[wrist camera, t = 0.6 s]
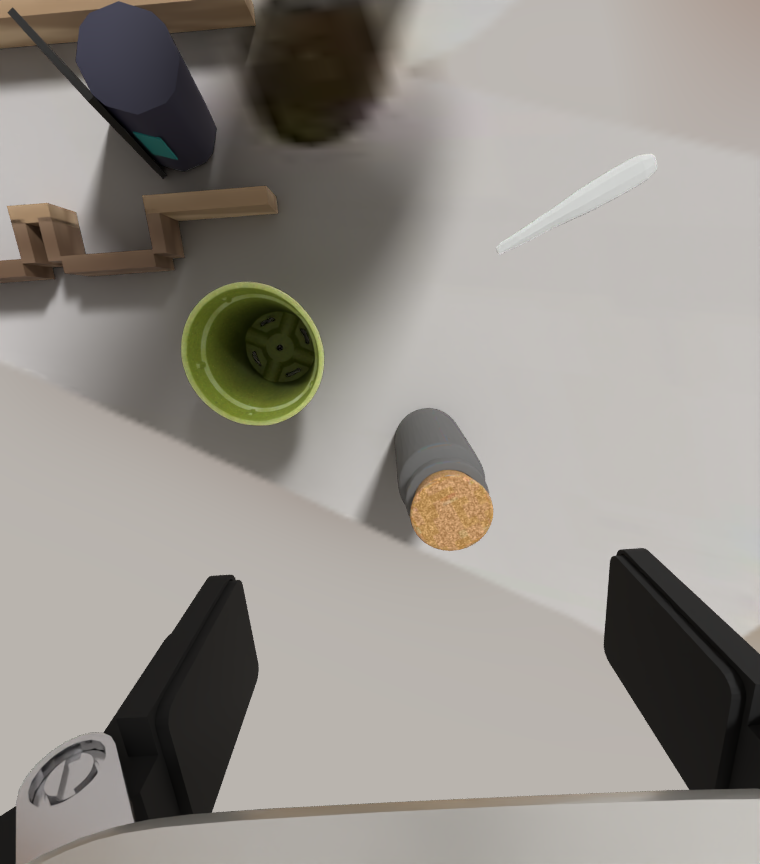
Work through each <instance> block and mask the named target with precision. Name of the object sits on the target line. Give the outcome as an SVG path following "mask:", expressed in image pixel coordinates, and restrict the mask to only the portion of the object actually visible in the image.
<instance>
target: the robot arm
mask: <svg viewBox="0 0 760 864" xmlns="http://www.w3.org/2000/svg"><path fill="white" fill-rule="evenodd" d="M604 650H605V654H606V656H607V659H608V661H609V663H610V664H611V666H612V668H613V669H614V671H615V672H616V674H617V675H618V677H619V679H620V680H621V682H622V683H623V685H624V687H625V688H626V690H627V691H628V693H629V695H630V696H631V698H632V699H633V701H634V702H635V704H636V706H637V707H638V709H639V710H640V712H641V713H642V715H643V717H644V718H645V720H646V721H647V723H648V725H649V726H650V728H651V729H652V731H653V733H654V734H655V736H656V737H657V739H658V741H659V742H660V743H661V745H662V747H663V749H664V750H665V752H666V753H667V755H668V756H669V758H670V760H671V761H672V763H673V764H674V766H675V768H676V769H677V771H678V772H679V774H680V776H681V777H682V779H683V780H684V782H685V783H686V785H687V787H688V788H689V790H667V791H642V792H641V791H640V792H616V793H590V794H566V795H541V796H517V797H496V798H473V799H453V800H452V799H451V800H430V801H408V802H387V803H368V804H350V805H331V806H314V807H313V806H311V807H293V808H273V809H257V810H244V811H231V812H216V813H212V810H213V807H214V804H215V801H216V798H217V796H218V793H219V790H220V787H221V784H222V781H223V778H224V775H225V772H226V769H227V766H228V763H229V760H230V758H231V755H232V752H233V749H234V746H235V743H236V740H237V737H238V734H239V731H240V729H241V726H242V723H243V720H244V717H245V714H246V711H247V708H248V705H249V702H250V699H251V696H252V693H253V691H254V688H255V685H256V682H257V678H258V660H257V655H256V650H255V645H254V640H253V635H252V630H251V625H250V620H249V615H248V610H247V604H246V599H245V594H244V589H243V585H242V582H241V581H240V580H235V577H234V576H233V575H219V576H210V577H209V578H208V579H207V580H206V582H205V583H204V585H203V586H202V588H201V589H200V591H199V592H198V594H197V595H196V597H195V598H194V600H193V601H192V603H191V604H190V606H189V607H188V609H187V610H186V612H185V614H184V615H183V617H182V618H181V620H180V621H179V623H178V624H177V626H176V627H175V629H174V630H173V632H172V633H171V634H170V635H169V636H168V637H167V638H166V639H165V640H164V642H163V643H162V645H161V646H160V648H159V650H158V651H157V652H156V654H155V656H154V657H153V659H152V660H151V662H150V663H149V665H148V666H147V668H146V669H145V671H144V672H143V674H142V675H141V677H140V678H139V680H138V681H137V683H136V684H135V686H134V688H133V689H132V690H131V692H130V693H129V695H128V696H127V698H126V700H125V701H124V702H123V704H122V705H121V707H120V709H119V710H118V712H117V713H116V715H115V716H114V718H113V719H112V721H111V722H110V724H109V725H108V727H107V728H106V730H105V731H104V733H99V732H98V733H97V732H92V733H88V734H83V735H79V736H77V737H75V738H73V739H71V740H69V741H66V742H65V743H63V744H61V745H60V746H58V747H57V748H55V749H54V750H52V751H51V752H49V753H48V754H47V755H46V756H45V757H44V758H43V759H42V760H40V761H39V762H38V763H37V764H36V765H35V767H34V768H33V769H32V771H30V773H29V774H28V775H27V776H26V778H25V780H24V781H23V783H22V785H21V787H20V789H19V792H18V796H17V801H16V806H15V807H14V808H12V809H11V810H9V811H8V812H6V813H5V814H3V815H2V816H0V864H760V654H759V653H758V652H757V651H756V650H755V649H753V648H752V647H751V646H750V645H749V644H748V643H747V642H746V641H745V640H744V639H743V638H742V637H741V636H740V635H738V634H737V633H736V632H735V631H734V630H733V629H732V628H731V627H730V626H729V625H728V624H727V623H726V622H724V621H723V620H722V619H721V618H720V617H719V616H718V615H717V614H716V613H715V612H714V611H713V610H712V609H710V608H709V607H708V606H707V605H706V604H705V603H704V602H703V601H702V600H701V599H700V598H699V597H698V596H696V595H695V594H694V593H693V592H692V591H691V590H690V589H689V588H688V587H687V586H686V585H685V584H684V583H682V582H681V581H680V580H679V579H678V578H677V577H676V576H675V575H674V574H673V573H672V572H671V571H670V570H668V569H667V568H666V567H665V566H664V565H663V564H662V563H661V562H660V561H659V560H658V559H657V558H656V557H654V556H653V555H652V554H651V553H650V552H649V551H648V550H646V549H644V548H638V549H623V550H619V551H618V552H617V555H616V556H613V557H612V558H611V560H610V570H609V583H608V596H607V609H606V621H605V634H604Z"/></svg>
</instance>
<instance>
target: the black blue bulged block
mask: <svg viewBox="0 0 760 864" xmlns="http://www.w3.org/2000/svg"><path fill="white" fill-rule="evenodd" d="M7 13H8V14H9V15H10V16H11V17H12V18H13V19H14V21H15V22H16V23H17V24H18V25H19V26H20V27H21V28H22V29H23V31H24V32H25V33H26V34H27V35H28V36H29V37H30V38H31V39H32V40H33V42H34V43H35V44H36V45H37V46H38V47H39V48H40V49H41V50H42V51H43V53H44V54H45V55H46V56H47V57H48V58H49V59H50V60H51V61H52V62H53V64H54V65H55V66H56V67H57V68H58V69H59V70H60V71H61V72H62V73H63V75H64V76H65V77H66V78H67V79H68V80H69V81H70V82H71V83H72V85H73V86H74V87H75V88H76V89H77V90H78V91H79V92H80V93H81V94H82V96H83V97H84V98H85V99H86V100H87V101H88V102H89V103H90V104H91V105H92V106H93V107H94V108H95V109H96V110H97V111H98V112H99V113H100V114H101V116H102V117H103V118H104V119H105V120H106V121H107V122H108V123H109V124H110V125H111V126H112V127H113V128H114V129H115V130H116V131H117V132H118V133H119V134H120V135H121V136H122V137H123V138H124V139H125V140H126V141H127V142H128V143H129V144H130V145H131V146H132V147H133V148H134V150H135V151H136V152H137V153H138V154H139V155H140V156H141V157H142V158H143V159H144V160H145V161H146V162H147V163H148V164H149V165H150V166H151V167H152V168H153V169H154V170H155V171H156V172H157V173H158V174H159V175H160V176H161V177H162V178H163V179H164V178H165V177H166V176H167V175H166V174H165V173H164V172H163V171H162V170H161V168H160V167H159V166H158V165H157V164H156V163H155V162H154V161H153V160H155V161H156V162H157V163H158V164H159V165H162V166H165V167H169V168H173V169H176V170H180V171H187V170H189V169H191V168H194V167H196V166H199V165H201V164H203V163H206V161H207V160H208V159H209V157H210V156H211V155H212V153H213V148H214V142H215V136H216V129H217V128H216V126H215V123H214V121H213V119H212V117H211V114H210V112H209V110H208V108H207V106H206V103H205V101H204V99H203V98H202V96H201V94H200V92H199V90H198V88H197V86H196V84H195V82H194V80H193V78H192V76H191V74H190V72H189V70H188V68H187V66H186V64H185V62H184V60H183V58H182V56H181V54H180V52H179V50H178V48H177V46H176V44H175V43H174V41H173V39H172V37H171V35H170V33H169V31H168V29H167V27H166V25H165V23H163V22H162V21H161V20H160V19H159V18H158V17H157V16H156V15H155V14H154V13H153V12H152V11H148V10H145V9H142V8H139V7H136V6H132V5H129V4H126V3H123V2H120V1H118V2H115V3H113V4H110V5H108V6H105V7H103V8H100V9H98V10H96V11H93V12H91V13H89V14H88V15H87V17H86V18H85V19H84V21H83V22H82V24H81V25H80V26H79V35H78V44H77V53H76V63H77V65H78V67H79V69H80V71H81V73H82V75H83V77H84V79H85V81H86V83H87V85H88V87H89V89H90V90H89V89H88V88H87V87H86V86H85V85H84V84H83V83H82V82H81V81H80V79H79V78H78V77H77V76H76V75H75V74H74V73H73V72H72V71H71V70H70V69H69V68H68V66H67V65H66V64H65V63H64V62H63V61H62V60H61V59H60V58H59V57H58V56H57V55H56V53H55V52H54V51H53V50H52V49H51V48H50V47H49V46H48V45H47V44H46V43H45V42H44V40H43V39H42V38H41V37H40V36H39V35H38V34H37V33H36V32H35V31H34V30H33V29H32V27H31V26H30V25H29V24H28V23H27V22H26V21H25V20H24V19H23V18H22V17H21V16H20V14H19V13H18V12H17V11H16V10H15V9H14V8H13V7H12V8H11V9H10V10H9V11H8V12H7ZM152 159H153V160H152Z"/></svg>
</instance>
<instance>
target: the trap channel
mask: <svg viewBox="0 0 760 864" xmlns="http://www.w3.org/2000/svg"><path fill="white" fill-rule="evenodd" d="M118 1H120V2H123V3H126V4H129V5H132V6H136V7H139V8H142V9H145V10H148V11H152V12H153V13H154V14H155V15H156V16H157V17H158V18H159V19H160V20H161V21H162V22H163V23H165V25H166V27H167V29H168V31H169V33H178V32H189V31H201V30H212V29H223V28H234V27H245V26H256V23H255V14H254V6H253V3H252V0H0V49H1V48H12V47H23V46H34V45H36V44H35V43H34V42H33V40H32V39H31V38H30V37H29V36H28V35H27V34H26V33H25V32H24V31H23V29H22V28H21V27H20V26H19V25H18V24H17V23H16V22H15V21H14V19H13V18H12V17H11V16H10V15H9V14H8V13H7V12H8V11H9V10H10V9H11V8H12V7H13V8H14V9H15V10H16V11H17V12H18V13H19V14H20V16H21V17H22V18H23V19H24V20H25V21H26V22H27V23H28V24H29V25H30V26H31V27H32V29H33V30H34V31H35V32H36V33H37V34H38V35H39V36H40V37H41V38H42V39H43V40H44V42H45V43H46V44H56V43H68V42H78V35H79V26H80V25H81V24H82V22H83V21H84V19H85V18H86V17H87V15H88V14H89V13H91V12H93V11H96V10H98V9H100V8H103V7H105V6H108V5H110V4H113V3H115V2H118ZM142 197H143V203H144V208H145V213H146V218H147V223H148V228H149V233H150V239H151V244H152V249H150V250H136V251H123V252H110V253H97V254H86V253H85V249H84V245H83V240H82V236H81V232H80V228H79V223H78V219H77V215H76V212H74V211H70V210H67V209H64V208H61V207H58V206H55V205H52V204H49V203H41V204H29V205H16V206H7V208H8V212H9V215H10V219H11V223H12V227H13V230H14V234H15V238H16V241H17V245H18V249H19V252H20V256H21V259H17V260H4V261H0V283H9V282H22V281H36V280H49V279H55V276H54V272H53V268H52V267H63V268H64V272H65V273H67V274H75V275H83V276H103V275H117V274H130V273H144V272H157V271H171V270H175V269H174V263H173V258H185V256H184V251H183V245H182V239H181V234H180V228H179V222H178V221H187V220H199V219H212V218H225V217H238V216H251V215H264V214H277V213H278V207H277V199H276V196H275V195H274V194H273V193H272V192H271V191H270V189H269V188H268V187H267V186H256V187H243V188H231V189H218V190H205V191H193V192H180V193H168V194H155V195H142Z"/></svg>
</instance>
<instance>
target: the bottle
mask: <svg viewBox="0 0 760 864" xmlns="http://www.w3.org/2000/svg"><path fill="white" fill-rule="evenodd" d="M395 450H396V464H397V477H398V486H399V492H400V495H401V498H402V500H403V502H404V504H405V505H406V508H407V511H408V514H409V516H410V519H411V523H412V527H413V529H414V531H415V532H416V534H417V535H418V536H419V538H420V539H421V540H422V541H424V542H425V543H426V544H428V545H430V546H432V547H434V548H436V549H441V550H448V551H453V550H460V549H464V548H467V547H469V546H471V545H473V544H475V543H476V542H478V541H479V540H480V539H481V538H482V537H483V536H484V535H485V534H486V532H487V531H488V529H489V527H490V525H491V522H492V518H493V505H492V501H491V498H490V496H489V491H488V487H487V484H486V482H485V474H484V470H483V467H482V465H481V463H480V461H479V459H478V458H477V456H476V454H475V452H474V451H473V449H472V448H471V446H470V444H469V443H468V441H467V440H466V438H465V437H464V435H463V433H462V432H461V430H460V429H459V427H458V426H457V424H456V423H455V422H454V420H453V419H452V418H451V417H450V416H449V415H447V414H446V413H444V412H442V411H440V410H437V409H432V408H425V409H420V410H416V411H414V412H412V413H410V414H409V415H407V416H406V417H405V418H404V419H403V420H402V422H401V423H400V425H399V426H398V429H397V432H396V436H395Z"/></svg>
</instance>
